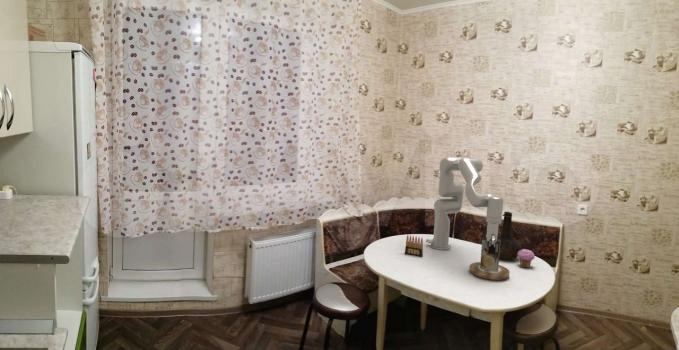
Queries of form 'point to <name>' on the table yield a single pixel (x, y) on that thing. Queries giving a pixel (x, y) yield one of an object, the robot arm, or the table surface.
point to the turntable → (489, 272)
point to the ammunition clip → (414, 247)
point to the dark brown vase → (508, 239)
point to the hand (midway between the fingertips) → (490, 250)
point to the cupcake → (525, 257)
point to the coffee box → (489, 256)
